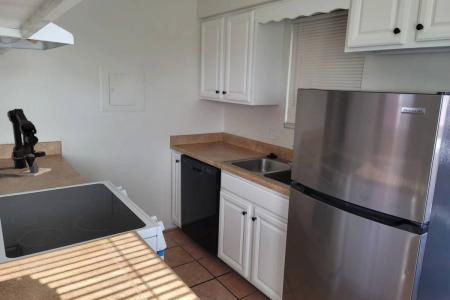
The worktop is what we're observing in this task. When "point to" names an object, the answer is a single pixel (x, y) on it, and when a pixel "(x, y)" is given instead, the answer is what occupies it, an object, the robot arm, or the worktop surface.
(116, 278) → the worktop surface
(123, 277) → the worktop surface
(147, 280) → the worktop surface
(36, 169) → the slider
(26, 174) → the switch plate
